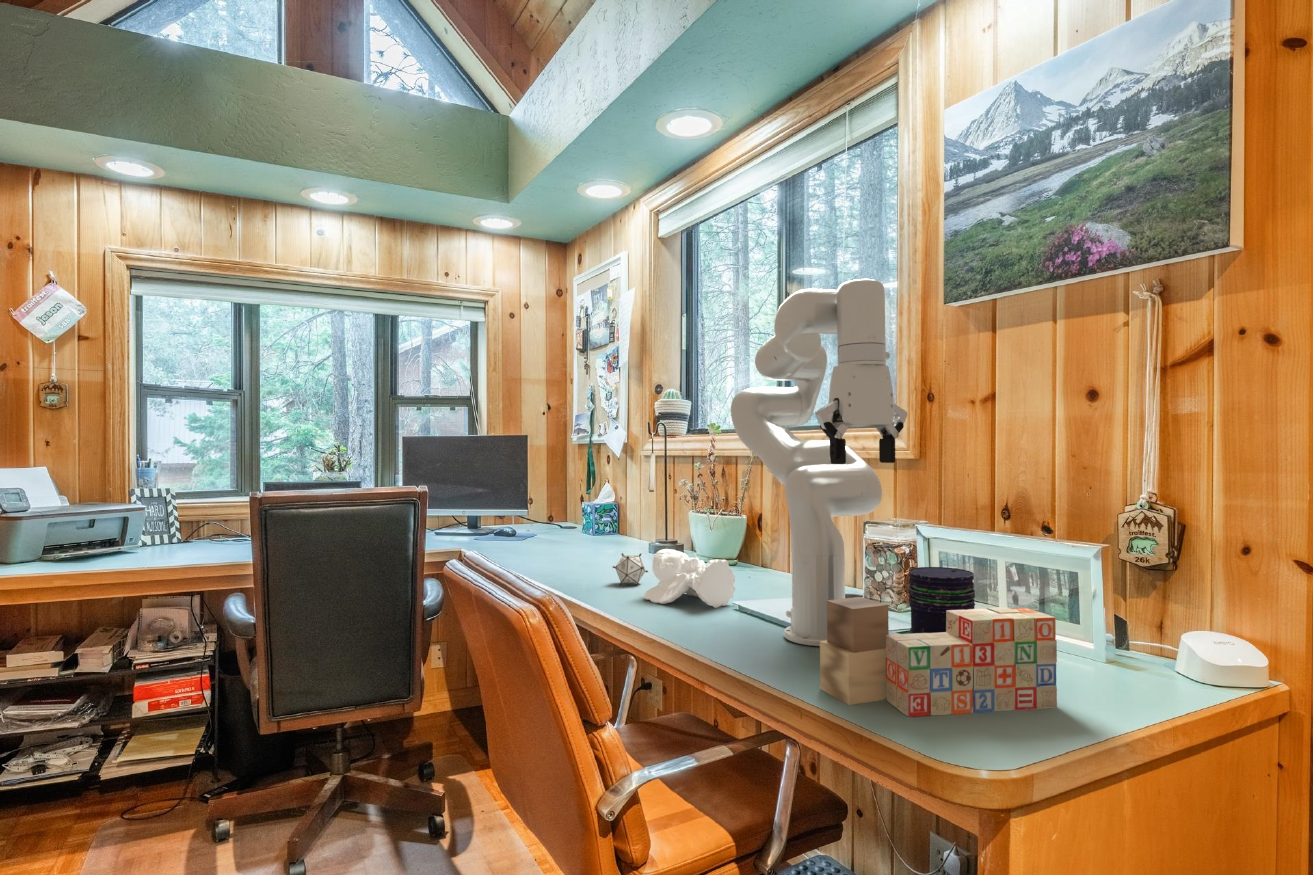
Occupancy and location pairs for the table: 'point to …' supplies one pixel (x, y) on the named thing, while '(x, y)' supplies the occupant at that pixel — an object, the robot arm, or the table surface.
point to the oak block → (853, 674)
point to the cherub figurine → (690, 579)
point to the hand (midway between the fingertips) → (863, 463)
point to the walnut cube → (857, 624)
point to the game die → (630, 569)
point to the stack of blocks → (975, 664)
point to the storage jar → (938, 596)
